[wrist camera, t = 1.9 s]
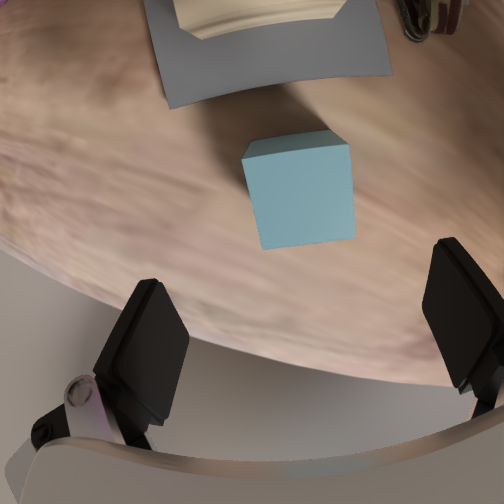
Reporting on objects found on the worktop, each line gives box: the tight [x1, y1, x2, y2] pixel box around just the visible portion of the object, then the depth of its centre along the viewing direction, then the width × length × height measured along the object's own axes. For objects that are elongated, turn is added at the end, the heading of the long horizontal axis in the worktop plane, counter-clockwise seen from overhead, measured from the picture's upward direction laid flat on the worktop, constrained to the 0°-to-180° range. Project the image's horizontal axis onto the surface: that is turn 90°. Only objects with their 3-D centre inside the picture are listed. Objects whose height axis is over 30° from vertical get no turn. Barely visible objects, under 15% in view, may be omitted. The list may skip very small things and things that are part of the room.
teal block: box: [241, 130, 355, 250], centre depth 18 cm, size 6×6×6 cm
